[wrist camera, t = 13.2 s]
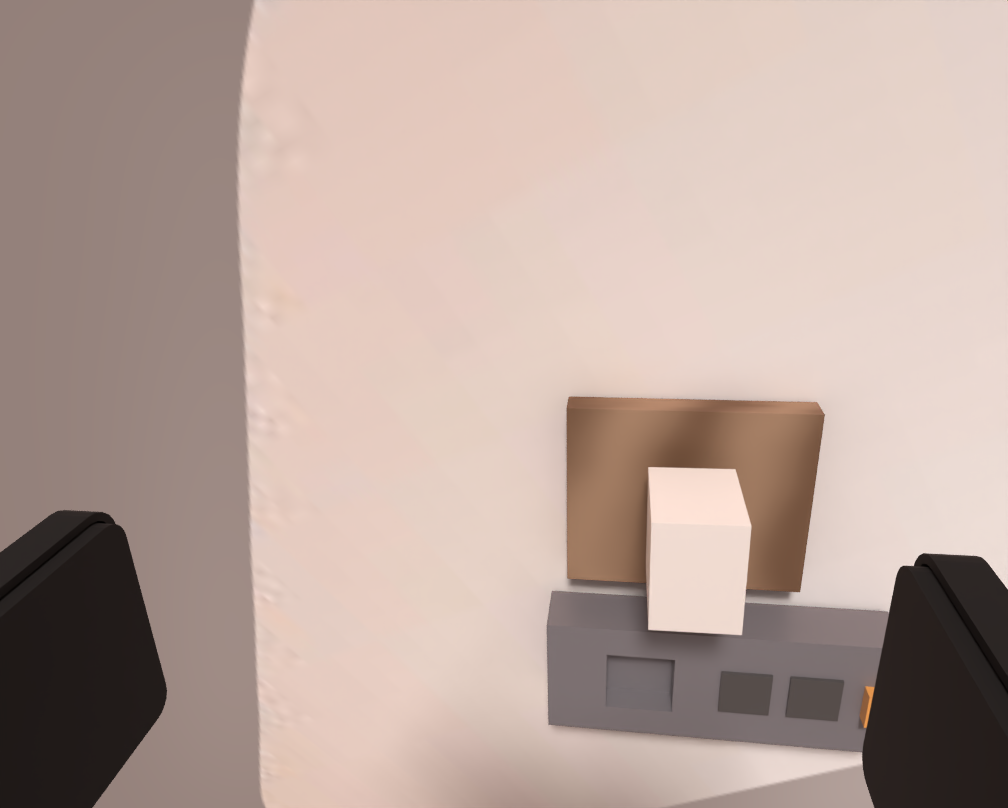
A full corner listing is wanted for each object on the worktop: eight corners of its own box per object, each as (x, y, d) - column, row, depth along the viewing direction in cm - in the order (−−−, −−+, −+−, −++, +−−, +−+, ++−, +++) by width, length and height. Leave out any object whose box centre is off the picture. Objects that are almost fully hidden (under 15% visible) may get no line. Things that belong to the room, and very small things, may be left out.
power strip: (887, 611, 40) (912, 661, 37) (867, 711, 43) (888, 766, 40) (552, 590, 43) (545, 635, 40) (553, 686, 46) (547, 735, 42)
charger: (731, 454, 37) (751, 526, 31) (724, 550, 39) (742, 635, 33) (647, 452, 37) (651, 523, 31) (645, 547, 39) (648, 629, 34)
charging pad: (817, 402, 37) (824, 414, 35) (794, 574, 40) (799, 592, 39) (569, 396, 38) (566, 408, 37) (569, 562, 42) (567, 578, 41)
